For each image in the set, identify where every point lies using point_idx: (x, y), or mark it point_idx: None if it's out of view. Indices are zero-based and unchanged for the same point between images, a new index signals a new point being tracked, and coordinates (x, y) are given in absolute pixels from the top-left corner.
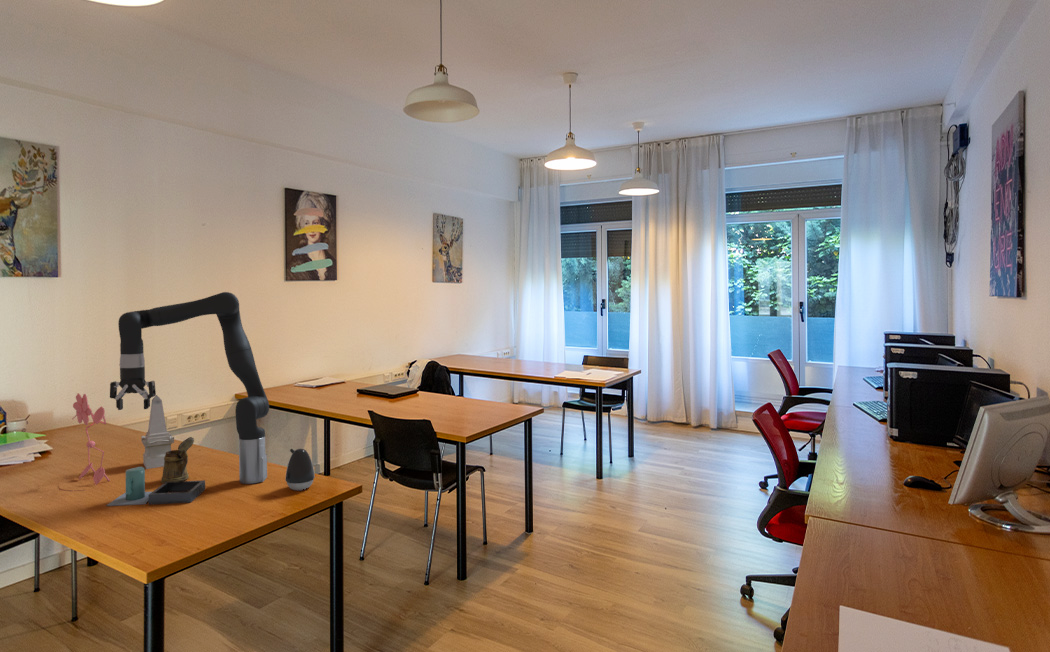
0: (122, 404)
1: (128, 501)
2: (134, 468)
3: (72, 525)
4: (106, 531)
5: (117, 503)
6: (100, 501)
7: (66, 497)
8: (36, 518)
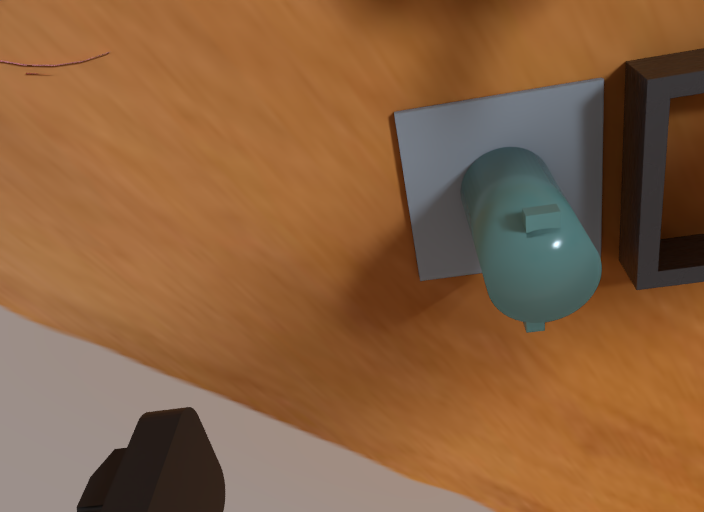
0: (164, 500)
1: None
2: (520, 250)
3: (422, 440)
4: (582, 479)
5: (460, 263)
6: (341, 220)
7: (109, 168)
8: (226, 389)
